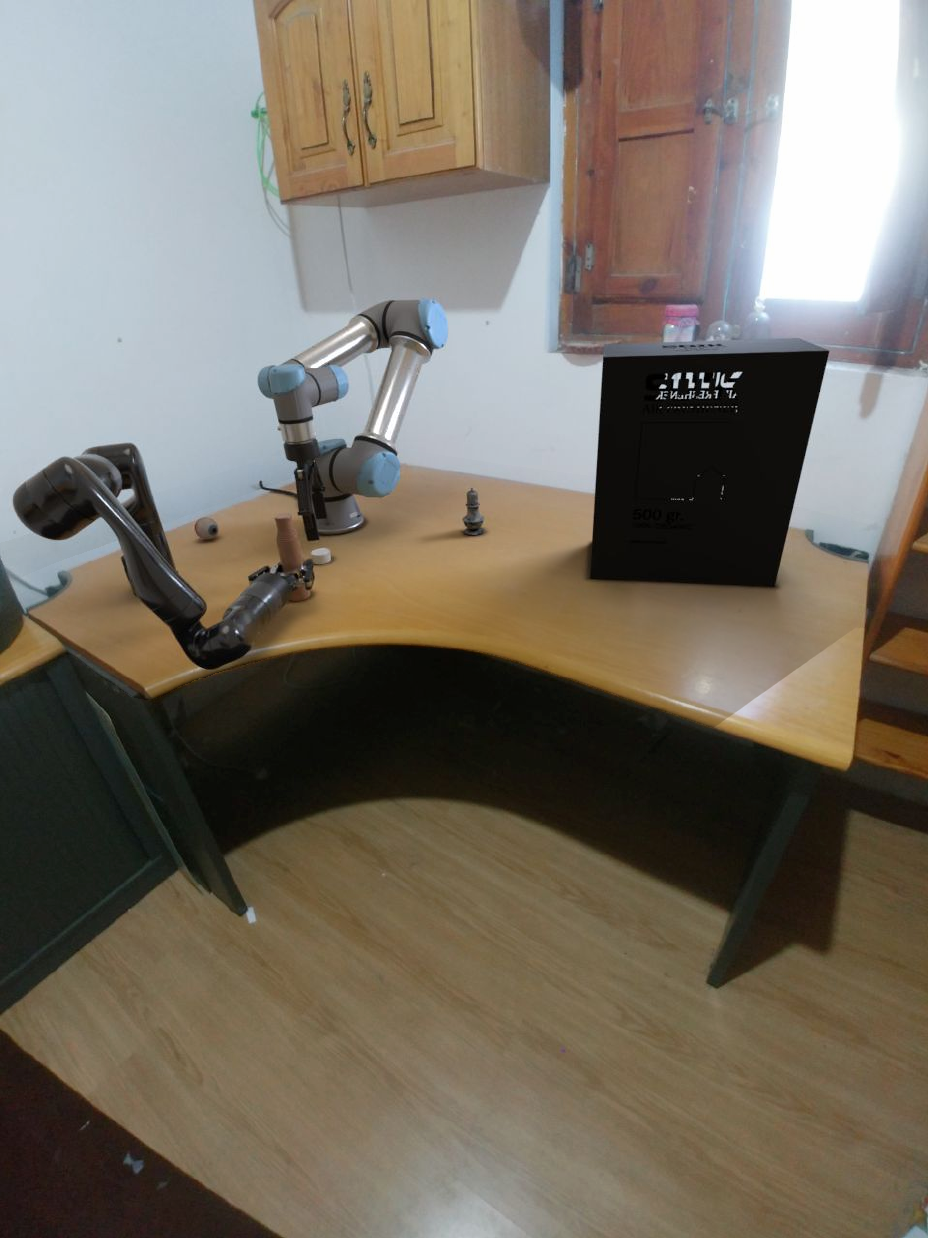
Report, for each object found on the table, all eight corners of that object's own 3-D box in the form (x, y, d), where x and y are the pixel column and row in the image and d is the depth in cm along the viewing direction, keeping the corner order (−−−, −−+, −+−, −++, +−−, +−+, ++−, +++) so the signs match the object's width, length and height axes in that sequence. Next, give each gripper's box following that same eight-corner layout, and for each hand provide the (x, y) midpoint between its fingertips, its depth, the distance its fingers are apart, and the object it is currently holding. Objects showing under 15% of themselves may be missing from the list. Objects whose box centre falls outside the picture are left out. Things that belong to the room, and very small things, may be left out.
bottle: (305, 601, 130) (288, 520, 121) (284, 600, 131) (266, 519, 122) (314, 591, 134) (298, 511, 125) (294, 590, 135) (277, 511, 126)
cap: (333, 556, 150) (332, 548, 149) (327, 564, 147) (325, 555, 145) (316, 556, 151) (315, 547, 150) (309, 564, 147) (308, 555, 146)
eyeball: (208, 544, 161) (202, 523, 158) (193, 540, 164) (187, 519, 161) (226, 536, 166) (220, 516, 163) (211, 533, 169) (205, 512, 166)
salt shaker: (482, 535, 157) (481, 491, 151) (460, 535, 158) (458, 490, 152) (486, 527, 162) (485, 483, 156) (465, 526, 163) (463, 483, 157)
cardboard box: (755, 547, 142) (798, 337, 120) (774, 586, 125) (829, 350, 102) (592, 542, 150) (603, 344, 127) (589, 578, 133) (603, 356, 110)
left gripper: (294, 583, 114) (326, 547, 129) (224, 581, 117) (264, 546, 131) (301, 617, 118) (332, 579, 132) (234, 614, 120) (272, 577, 135)
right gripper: (293, 427, 145) (310, 511, 156) (271, 457, 123) (292, 551, 134) (324, 425, 145) (339, 509, 156) (307, 454, 124) (326, 548, 134)
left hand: (298, 562), depth 132 cm, fingers closed on bottle, 4 cm apart
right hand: (317, 528), depth 145 cm, fingers open, 13 cm apart
